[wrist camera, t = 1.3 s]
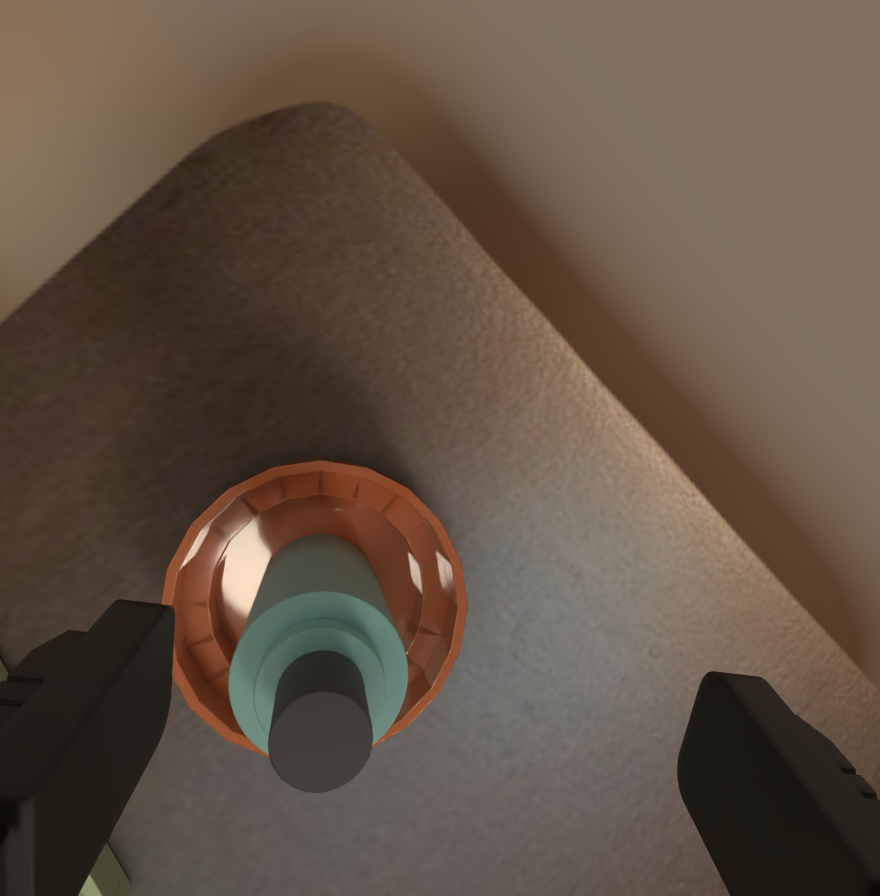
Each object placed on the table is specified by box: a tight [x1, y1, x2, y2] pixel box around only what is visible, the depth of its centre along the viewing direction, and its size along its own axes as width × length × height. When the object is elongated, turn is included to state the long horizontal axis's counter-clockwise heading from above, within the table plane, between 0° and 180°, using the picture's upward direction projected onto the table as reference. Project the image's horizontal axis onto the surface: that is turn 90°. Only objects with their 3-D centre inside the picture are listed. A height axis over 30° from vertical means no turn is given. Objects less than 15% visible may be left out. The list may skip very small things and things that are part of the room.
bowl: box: [161, 457, 467, 758], centre depth 33 cm, size 14×14×5 cm
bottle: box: [228, 534, 408, 793], centre depth 26 cm, size 6×6×18 cm
